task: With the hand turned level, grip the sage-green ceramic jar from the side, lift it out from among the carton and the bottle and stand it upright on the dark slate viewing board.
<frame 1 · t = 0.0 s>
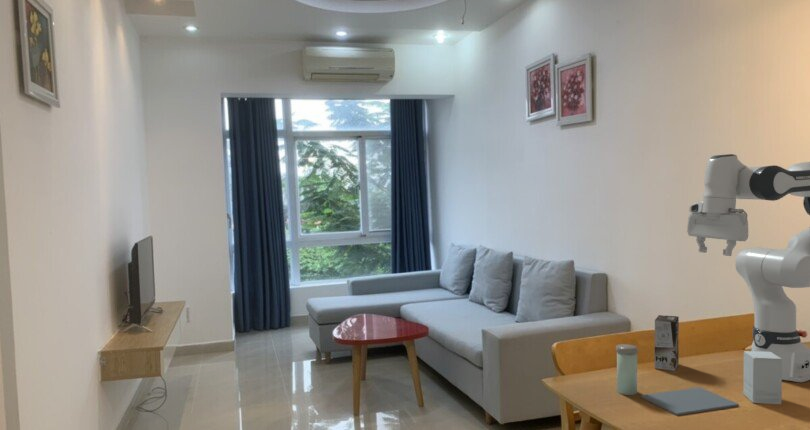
hand: (714, 254, 177), 39 cm above the table, tool pointing down, fingers open, 8 cm apart
supplement box: (762, 400, 163), on the table
viewing board: (688, 401, 163), on the table
coffee box: (666, 366, 194), on the table
ceramic jar: (627, 391, 171), on the table
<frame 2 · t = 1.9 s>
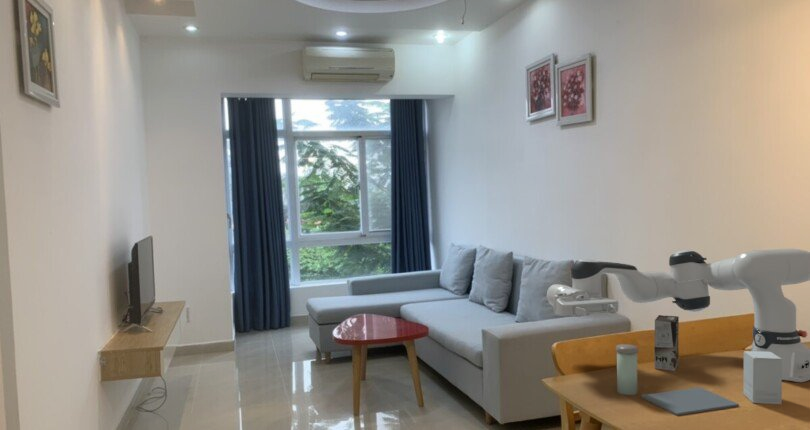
hand: (600, 311, 183), 21 cm above the table, tool horizontal, fingers open, 8 cm apart
nothing on the table moved.
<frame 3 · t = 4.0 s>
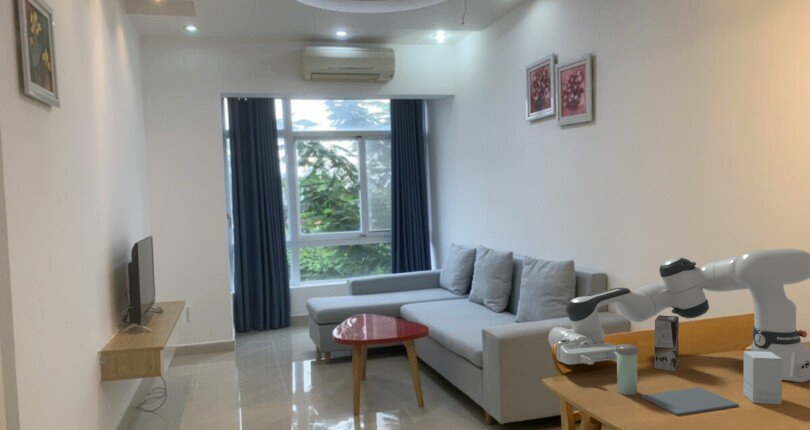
hand: (605, 360, 181), 6 cm above the table, tool horizontal, fingers open, 8 cm apart
nothing on the table moved.
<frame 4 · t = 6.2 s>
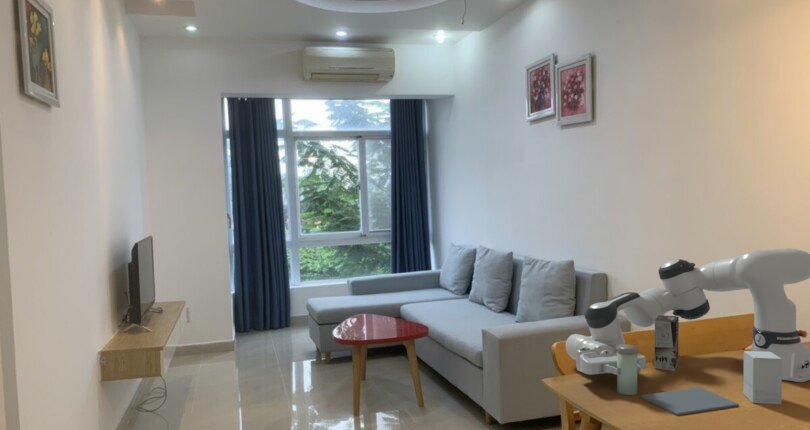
hand: (628, 370, 170), 7 cm above the table, tool horizontal, fingers closed on ceramic jar, 5 cm apart
ceramic jar: (627, 391, 171), on the table, touching gripper
everything else where it was.
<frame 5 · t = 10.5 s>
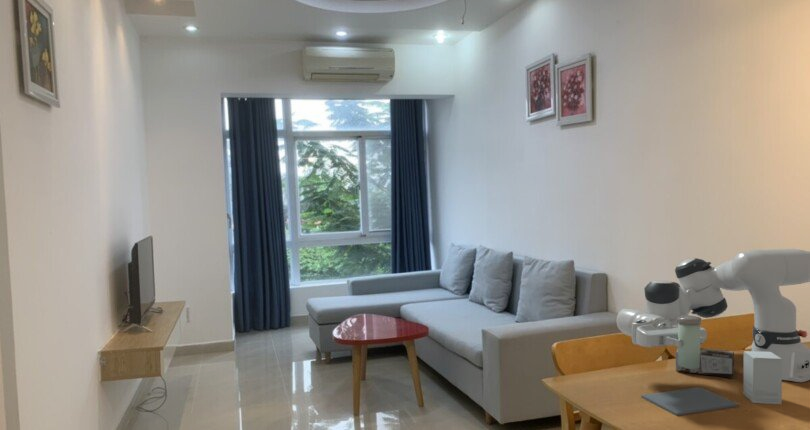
hand: (691, 342, 161), 17 cm above the table, tool horizontal, fingers closed on ceramic jar, 5 cm apart
coffee box: (676, 357, 192), point 3 cm above the table
ceramic jar: (688, 365, 162), point 10 cm above the table, touching gripper
everything else where it was.
when the fingers open (8 cm above the table, at t = 12.9 s): ceramic jar stays where it is, resting on viewing board.
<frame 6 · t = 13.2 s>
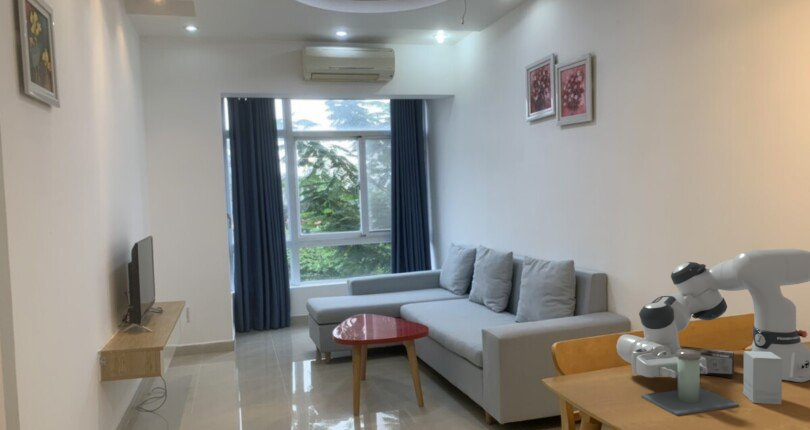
hand: (691, 373, 162), 8 cm above the table, tool horizontal, fingers open, 8 cm apart
ceramic jar: (688, 399, 163), point 1 cm above the table, touching viewing board
everything else where it was.
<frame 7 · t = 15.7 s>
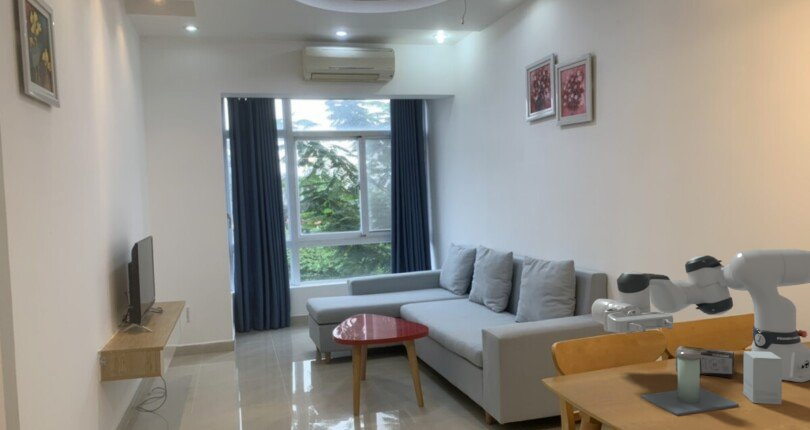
hand: (657, 327, 172), 18 cm above the table, tool horizontal, fingers open, 8 cm apart
nothing on the table moved.
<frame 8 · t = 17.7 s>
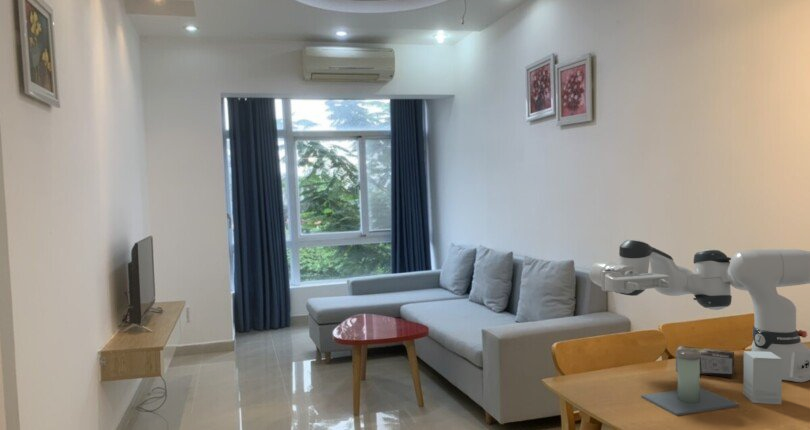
hand: (654, 286, 175), 30 cm above the table, tool horizontal, fingers open, 8 cm apart
nothing on the table moved.
at the end: ceramic jar inside the target area on the viewing board (0.1 cm from its centre), point 0.6 cm above the viewing board's base; ceramic jar tilted 0°; the gripper is holding nothing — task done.
